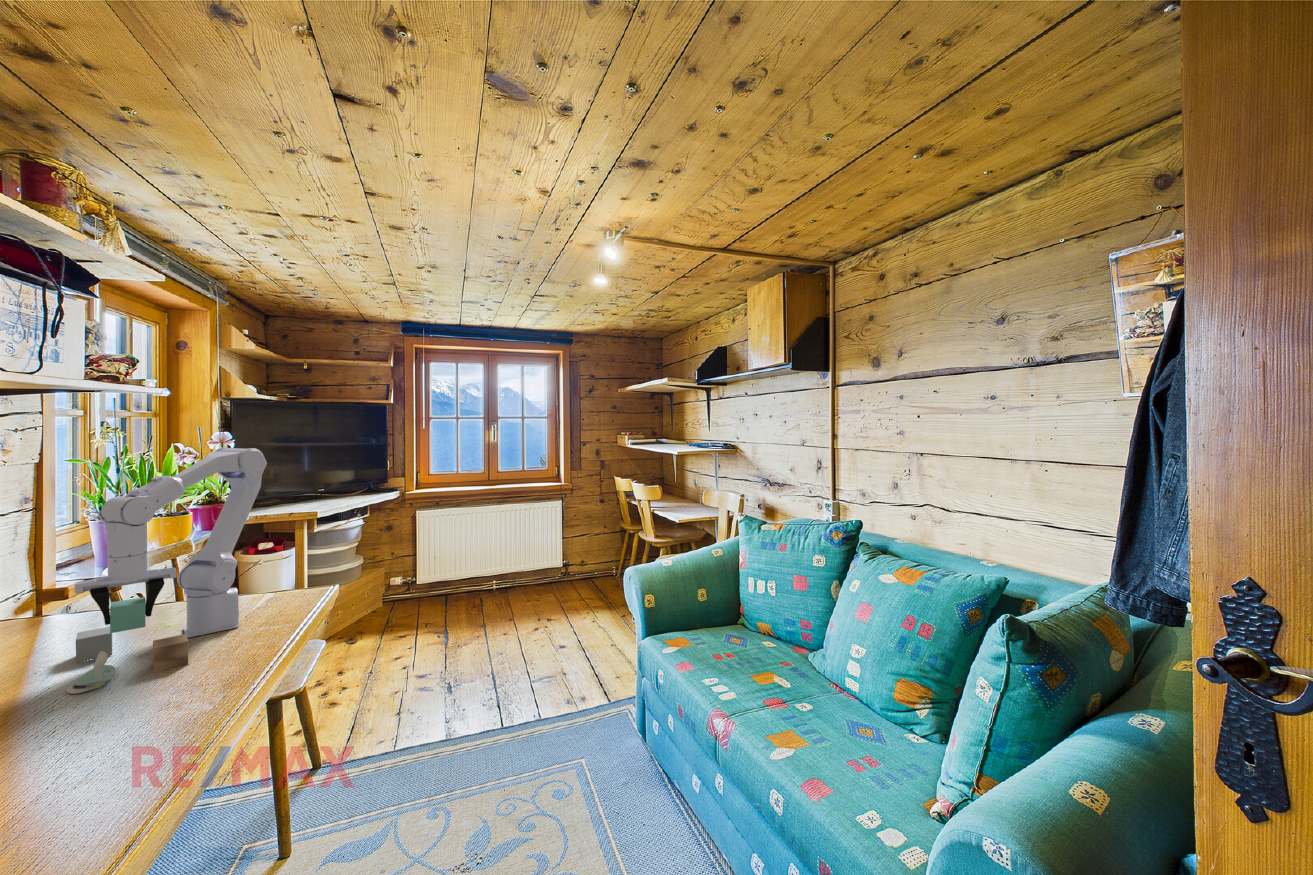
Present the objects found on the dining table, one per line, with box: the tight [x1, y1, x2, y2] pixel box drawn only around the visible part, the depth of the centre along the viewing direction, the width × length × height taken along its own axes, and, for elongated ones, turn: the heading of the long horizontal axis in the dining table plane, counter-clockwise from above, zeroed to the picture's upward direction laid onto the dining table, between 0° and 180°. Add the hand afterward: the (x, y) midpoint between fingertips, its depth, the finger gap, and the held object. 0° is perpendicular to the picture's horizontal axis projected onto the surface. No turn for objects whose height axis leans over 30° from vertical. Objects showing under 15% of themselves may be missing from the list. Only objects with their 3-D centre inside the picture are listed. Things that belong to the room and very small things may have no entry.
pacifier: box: [65, 651, 116, 695], centre depth 95 cm, size 7×6×6 cm
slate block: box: [75, 626, 114, 664], centre depth 107 cm, size 5×5×5 cm
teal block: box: [109, 596, 146, 634], centre depth 106 cm, size 5×5×5 cm
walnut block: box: [152, 633, 189, 674], centre depth 104 cm, size 5×5×5 cm
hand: (128, 619), depth 106 cm, fingers closed on teal block, 5 cm apart
